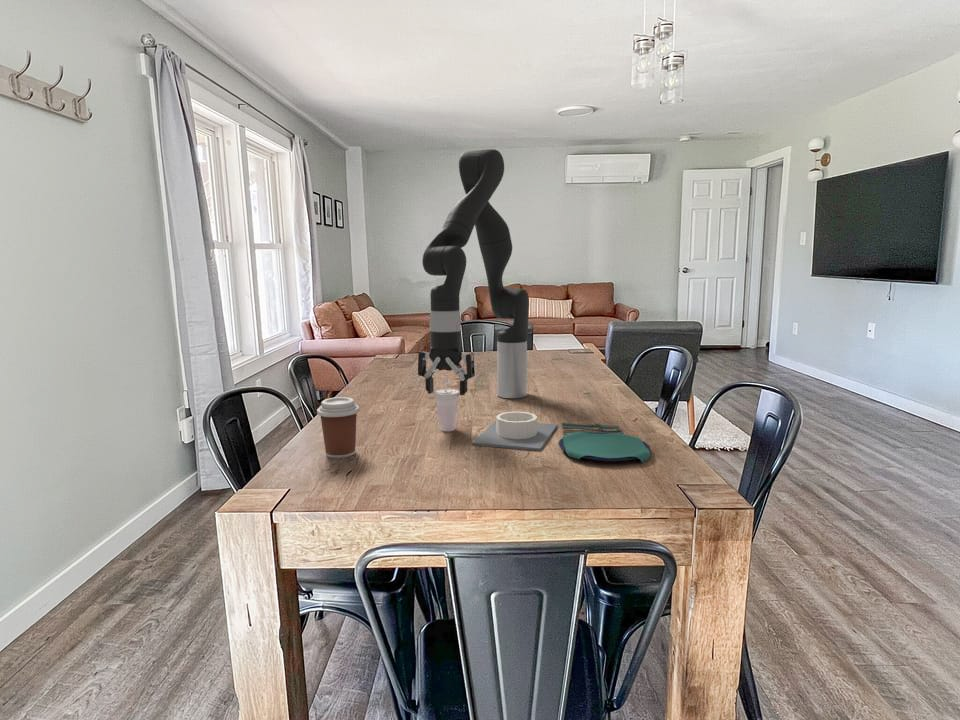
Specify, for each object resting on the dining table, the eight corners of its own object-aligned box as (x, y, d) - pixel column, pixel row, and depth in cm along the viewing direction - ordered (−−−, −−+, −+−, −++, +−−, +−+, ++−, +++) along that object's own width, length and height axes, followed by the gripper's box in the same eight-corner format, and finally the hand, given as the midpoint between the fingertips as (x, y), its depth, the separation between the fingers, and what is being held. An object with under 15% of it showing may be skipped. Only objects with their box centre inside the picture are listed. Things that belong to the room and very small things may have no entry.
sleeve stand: (496, 421, 152) (496, 404, 152) (557, 426, 147) (557, 409, 147) (472, 444, 134) (471, 425, 133) (540, 451, 129) (540, 431, 128)
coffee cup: (344, 444, 135) (341, 394, 133) (370, 452, 129) (367, 399, 127) (310, 454, 128) (307, 401, 126) (336, 463, 122) (333, 408, 120)
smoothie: (429, 431, 145) (428, 376, 142) (443, 424, 150) (442, 371, 148) (452, 434, 142) (450, 378, 140) (464, 427, 147) (463, 373, 145)
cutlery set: (561, 466, 119) (561, 455, 119) (553, 427, 149) (553, 418, 149) (659, 469, 118) (660, 458, 118) (632, 429, 147) (632, 420, 147)
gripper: (477, 328, 143) (478, 392, 146) (424, 326, 148) (426, 389, 150) (467, 331, 136) (468, 399, 139) (412, 329, 141) (413, 395, 143)
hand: (446, 393), depth 144 cm, fingers open, 8 cm apart
